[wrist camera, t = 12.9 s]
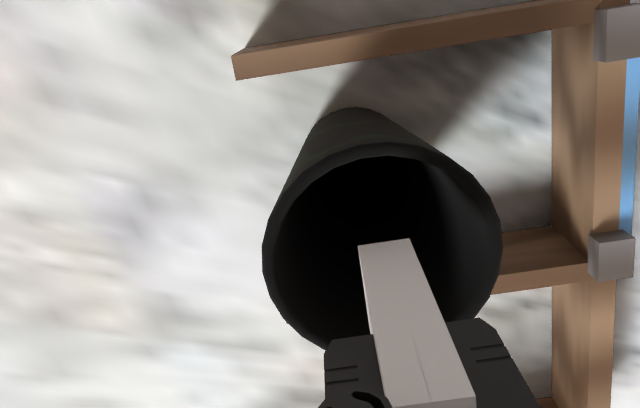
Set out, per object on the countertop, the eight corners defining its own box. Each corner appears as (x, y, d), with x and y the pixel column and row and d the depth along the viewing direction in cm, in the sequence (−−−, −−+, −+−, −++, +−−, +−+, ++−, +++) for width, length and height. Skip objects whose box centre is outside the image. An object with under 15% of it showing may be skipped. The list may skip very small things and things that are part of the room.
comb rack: (244, 48, 26) (227, 58, 21) (589, -9, 25) (661, -13, 20) (322, 439, 34) (323, 515, 29) (580, 405, 34) (628, 477, 29)
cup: (423, 78, 26) (506, 130, 15) (428, 218, 29) (502, 350, 18) (272, 95, 27) (243, 158, 15) (291, 232, 29) (278, 372, 18)
